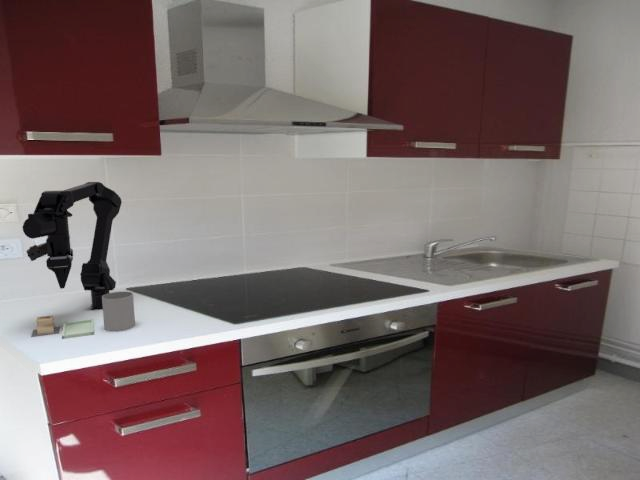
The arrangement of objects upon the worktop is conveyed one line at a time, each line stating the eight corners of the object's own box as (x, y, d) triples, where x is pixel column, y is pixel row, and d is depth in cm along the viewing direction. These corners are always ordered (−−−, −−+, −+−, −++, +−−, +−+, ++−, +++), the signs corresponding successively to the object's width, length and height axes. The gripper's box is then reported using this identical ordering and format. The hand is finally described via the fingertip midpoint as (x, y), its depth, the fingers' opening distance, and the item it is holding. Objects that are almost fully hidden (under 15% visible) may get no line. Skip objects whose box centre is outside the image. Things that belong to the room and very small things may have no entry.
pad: (33, 330, 145) (33, 329, 145) (60, 327, 148) (60, 326, 148) (31, 338, 139) (30, 337, 139) (59, 334, 142) (59, 333, 142)
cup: (126, 321, 153) (123, 290, 151) (140, 327, 148) (138, 294, 146) (99, 329, 146) (96, 295, 145) (113, 334, 141) (110, 300, 140)
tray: (64, 326, 149) (64, 322, 149) (93, 322, 152) (93, 318, 152) (62, 340, 137) (61, 336, 137) (94, 335, 140) (93, 331, 140)
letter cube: (38, 330, 144) (37, 316, 144) (54, 328, 146) (53, 314, 145) (37, 334, 141) (36, 320, 140) (53, 332, 142) (52, 318, 142)
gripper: (30, 231, 153) (35, 281, 155) (23, 239, 136) (28, 295, 138) (71, 229, 157) (75, 277, 160) (68, 236, 140) (73, 290, 143)
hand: (63, 284), depth 150 cm, fingers open, 9 cm apart
